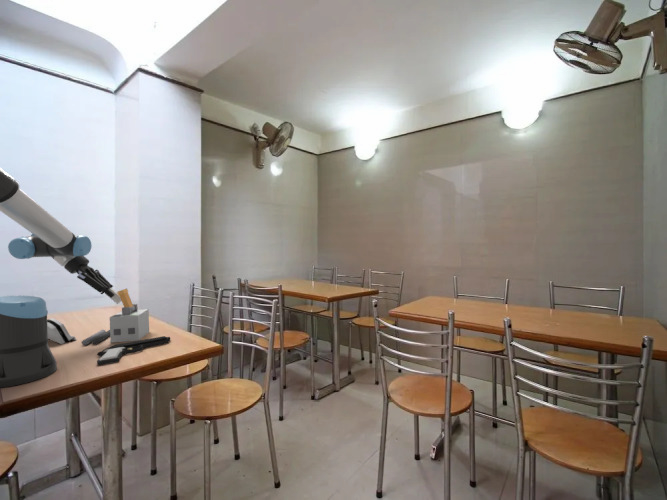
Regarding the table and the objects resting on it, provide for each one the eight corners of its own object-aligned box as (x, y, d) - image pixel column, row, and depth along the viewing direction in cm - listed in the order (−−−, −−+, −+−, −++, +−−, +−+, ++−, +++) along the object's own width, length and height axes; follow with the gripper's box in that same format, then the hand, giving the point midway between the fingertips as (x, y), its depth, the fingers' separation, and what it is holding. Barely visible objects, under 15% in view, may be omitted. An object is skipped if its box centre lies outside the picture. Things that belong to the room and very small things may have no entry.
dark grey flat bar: (81, 345, 119) (81, 339, 118) (99, 335, 132) (99, 329, 132) (98, 344, 120) (97, 338, 120) (114, 334, 133) (114, 328, 133)
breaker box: (110, 342, 122) (109, 309, 121) (123, 333, 133) (122, 303, 133) (138, 340, 124) (137, 308, 124) (149, 331, 136) (148, 302, 135)
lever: (125, 314, 126) (116, 291, 125) (130, 311, 131) (121, 290, 130) (131, 312, 126) (122, 289, 125) (136, 309, 131) (127, 288, 130)
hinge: (77, 340, 125) (65, 319, 122) (63, 347, 122) (51, 325, 118) (60, 334, 134) (49, 314, 131) (46, 341, 130) (35, 320, 127)
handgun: (177, 344, 112) (169, 334, 124) (96, 359, 98) (96, 347, 110) (177, 351, 112) (169, 341, 124) (97, 368, 98) (96, 354, 110)
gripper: (71, 254, 117) (121, 297, 122) (88, 253, 130) (133, 292, 135) (54, 268, 116) (106, 311, 121) (73, 266, 129) (119, 304, 134)
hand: (120, 301), depth 128 cm, fingers closed
